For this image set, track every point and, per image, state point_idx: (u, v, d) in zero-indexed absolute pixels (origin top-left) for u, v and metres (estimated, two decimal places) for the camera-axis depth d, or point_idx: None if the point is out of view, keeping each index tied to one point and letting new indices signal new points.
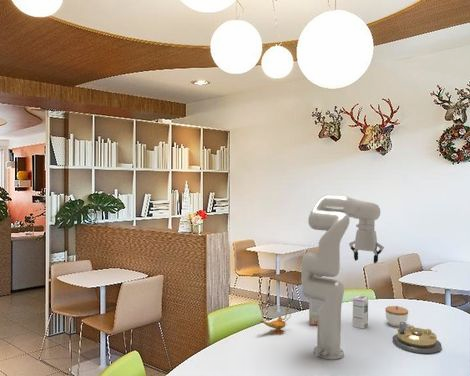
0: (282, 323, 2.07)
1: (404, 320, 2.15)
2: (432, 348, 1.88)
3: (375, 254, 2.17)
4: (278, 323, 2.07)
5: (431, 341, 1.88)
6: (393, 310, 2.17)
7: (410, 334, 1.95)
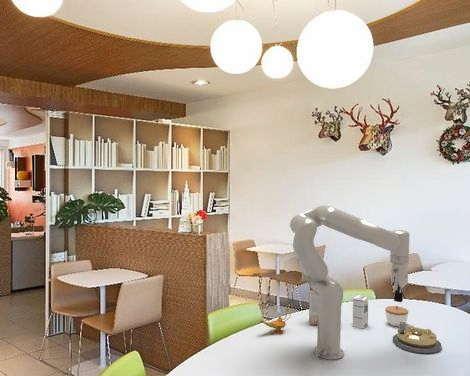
0: (282, 323, 2.07)
1: (404, 320, 2.15)
2: (432, 348, 1.88)
3: (401, 291, 1.89)
4: (278, 323, 2.07)
5: (431, 341, 1.88)
6: (393, 310, 2.17)
7: (410, 334, 1.95)
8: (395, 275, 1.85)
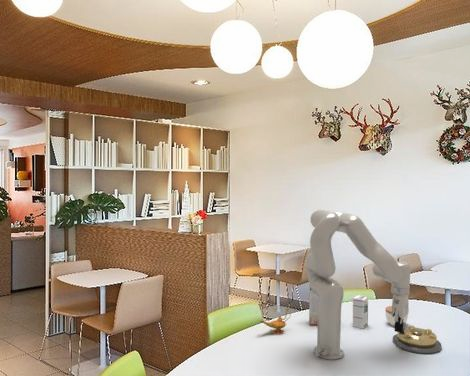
0: (282, 323, 2.07)
1: (404, 320, 2.15)
2: (432, 348, 1.88)
3: (402, 321, 1.93)
4: (278, 323, 2.07)
5: (431, 341, 1.88)
6: None
7: (410, 334, 1.95)
8: (396, 306, 1.88)
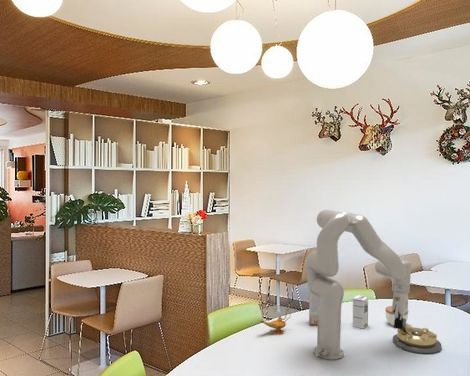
0: (282, 323, 2.07)
1: None
2: (432, 348, 1.88)
3: (401, 318, 1.98)
4: (278, 323, 2.07)
5: (416, 341, 1.88)
6: None
7: (409, 332, 1.97)
8: (396, 303, 1.93)
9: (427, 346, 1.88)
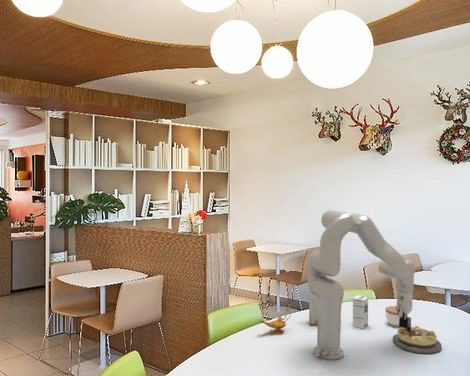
0: (282, 323, 2.07)
1: None
2: (432, 348, 1.88)
3: (406, 317, 1.99)
4: (278, 323, 2.07)
5: (406, 339, 1.91)
6: (393, 310, 2.17)
7: (411, 331, 1.98)
8: (400, 303, 1.95)
9: (417, 346, 1.88)
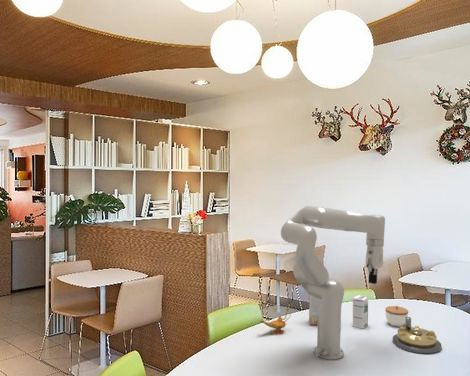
0: (282, 323, 2.07)
1: (404, 320, 2.15)
2: (432, 348, 1.88)
3: (376, 273, 1.98)
4: (278, 323, 2.07)
5: (406, 339, 1.91)
6: (393, 310, 2.17)
7: (411, 331, 1.98)
8: (369, 257, 1.93)
9: (417, 346, 1.88)
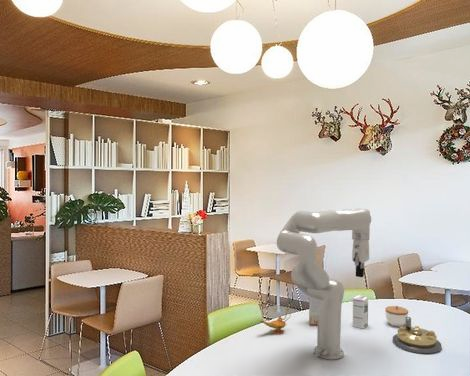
0: (282, 323, 2.07)
1: (404, 320, 2.15)
2: (432, 348, 1.88)
3: (362, 267, 1.99)
4: (278, 323, 2.07)
5: (406, 339, 1.91)
6: (393, 310, 2.17)
7: (411, 331, 1.98)
8: (356, 251, 1.94)
9: (417, 346, 1.88)
